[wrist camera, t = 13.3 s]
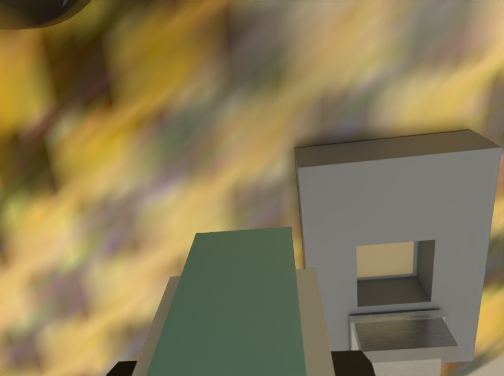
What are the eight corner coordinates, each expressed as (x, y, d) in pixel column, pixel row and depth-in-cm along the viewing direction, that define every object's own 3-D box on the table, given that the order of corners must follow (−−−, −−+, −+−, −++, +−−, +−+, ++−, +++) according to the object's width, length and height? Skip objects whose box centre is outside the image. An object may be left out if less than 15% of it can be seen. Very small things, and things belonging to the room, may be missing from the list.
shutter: (349, 316, 33) (358, 351, 30) (441, 309, 33) (462, 345, 29) (351, 379, 36) (360, 419, 33) (435, 375, 36) (453, 414, 32)
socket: (294, 148, 32) (297, 168, 28) (470, 129, 31) (501, 147, 27) (309, 333, 40) (314, 370, 36) (451, 324, 39) (472, 361, 35)
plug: (190, 229, 17) (65, 556, 6) (295, 222, 16) (338, 554, 6) (205, 313, 18) (125, 676, 8) (301, 308, 18) (342, 681, 8)
